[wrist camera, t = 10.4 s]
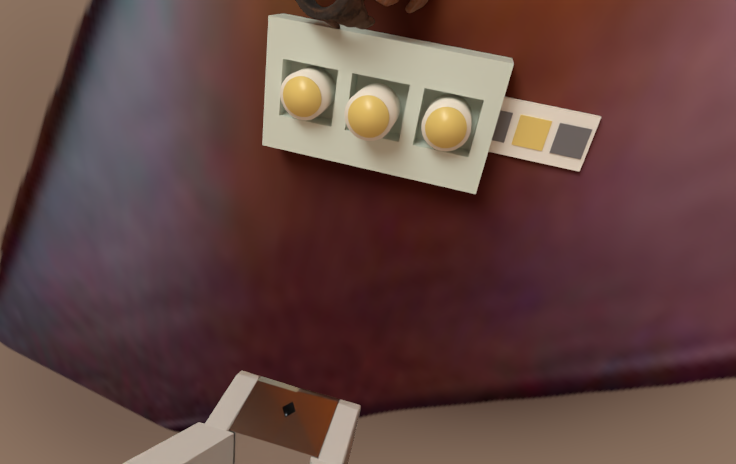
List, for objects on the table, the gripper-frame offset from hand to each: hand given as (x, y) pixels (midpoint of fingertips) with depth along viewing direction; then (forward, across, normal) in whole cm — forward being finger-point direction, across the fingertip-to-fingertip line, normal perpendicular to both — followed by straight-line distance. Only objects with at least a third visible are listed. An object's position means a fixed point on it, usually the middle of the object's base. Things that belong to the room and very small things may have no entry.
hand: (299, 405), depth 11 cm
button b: (+29, +4, 0) cm, 29 cm away
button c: (+30, +9, 0) cm, 31 cm away
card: (+31, -8, 0) cm, 32 cm away
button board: (+31, +4, 0) cm, 31 cm away
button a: (+30, -1, 0) cm, 30 cm away
